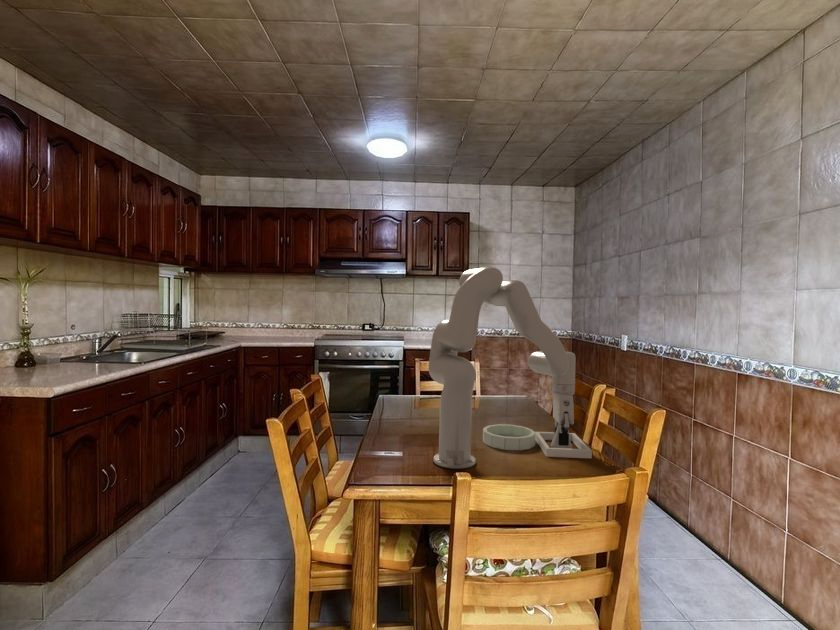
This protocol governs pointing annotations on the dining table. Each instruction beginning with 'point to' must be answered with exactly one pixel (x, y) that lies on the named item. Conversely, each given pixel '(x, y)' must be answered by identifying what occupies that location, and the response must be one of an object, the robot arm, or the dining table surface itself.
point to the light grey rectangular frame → (563, 452)
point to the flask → (556, 438)
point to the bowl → (508, 437)
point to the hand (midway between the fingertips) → (561, 442)
